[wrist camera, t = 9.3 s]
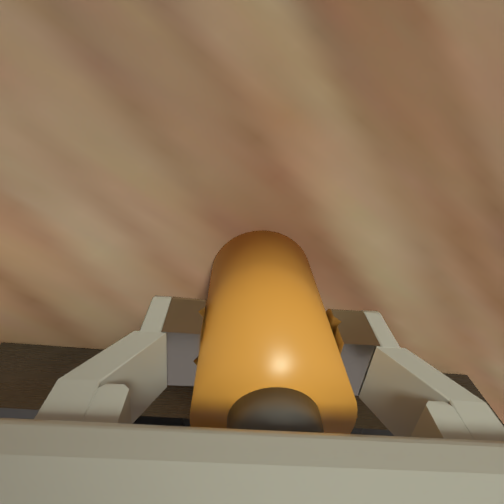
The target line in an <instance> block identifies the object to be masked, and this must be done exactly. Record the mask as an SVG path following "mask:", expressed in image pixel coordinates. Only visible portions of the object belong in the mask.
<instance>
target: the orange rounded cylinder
mask: <svg viewBox="0 0 504 504" xmlns="http://www.w3.org/2000/svg"><path fill="white" fill-rule="evenodd" d="M357 411H358V409H357V402H356V399H355V396H354V393H353V390H352V387H351V384H350V381H349V378H348V375H347V373H346V370H345V367H344V364H343V361H342V358H341V355H340V352H339V349H338V346H337V344H336V341H335V338H334V335H333V332H332V329H331V326H330V323H329V320H328V318H327V315H326V312H325V309H324V306H323V303H322V300H321V297H320V294H319V291H318V289H317V286H316V283H315V280H314V277H313V274H312V271H311V268H310V265H309V263H308V260H307V257H306V255H305V253H304V251H303V250H302V249H301V247H300V246H299V245H298V244H297V243H296V242H294V241H293V240H292V239H290V238H288V237H287V236H284V235H282V234H280V233H276V232H271V231H252V232H248V233H244V234H241V235H239V236H237V237H235V238H233V239H232V240H230V241H229V242H228V243H226V244H225V245H224V246H223V247H222V248H221V250H220V251H219V252H218V254H217V255H216V258H215V260H214V263H213V266H212V272H211V279H210V285H209V292H208V298H207V305H206V314H205V321H204V325H203V334H202V341H201V347H200V352H199V356H198V363H197V369H196V376H195V382H194V389H193V395H192V401H191V408H190V415H189V418H190V426H191V427H209V428H231V429H252V430H274V431H296V432H318V433H340V434H350V433H351V432H352V430H353V428H354V426H355V423H356V419H357Z"/></svg>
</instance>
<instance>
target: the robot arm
mask: <svg viewBox="0 0 504 504" xmlns="http://www.w3.org/2000/svg"><path fill="white" fill-rule="evenodd" d="M206 304H207V300H203V299H192V298H181V297H170V296H156V295H155V296H154V297H153V299H152V301H151V304H150V306H149V309H148V311H147V314H146V316H145V319H144V321H143V324H142V326H141V329H140V331H133V332H131V333H130V334H128V335H127V336H125V337H124V338H122V339H120V340H119V341H117V342H116V343H114V344H113V345H111V346H109V347H108V348H106V349H105V350H103V351H102V352H100V353H98V354H97V355H95V356H94V357H92V358H91V359H89V360H87V361H86V362H84V363H83V364H81V365H80V366H78V367H76V368H75V369H73V370H72V371H70V372H69V373H67V374H65V375H64V376H62V377H61V378H59V379H58V380H57V382H56V383H55V385H54V387H53V388H52V390H51V392H50V393H49V395H48V397H47V398H46V400H45V402H44V403H43V405H42V407H41V408H40V410H39V411H38V413H37V415H36V416H35V418H34V419H15V418H0V504H504V426H503V425H502V424H501V422H500V421H499V420H498V418H497V417H496V416H495V414H494V413H493V411H492V410H491V409H490V407H489V406H488V405H487V403H486V402H484V401H483V400H481V399H480V398H478V397H477V396H475V395H474V394H472V393H471V392H469V391H468V390H466V389H465V388H463V387H462V386H460V385H459V384H457V383H456V382H455V381H453V380H452V379H450V378H449V377H447V376H446V375H444V374H443V373H441V372H440V371H438V370H437V369H435V368H434V367H432V366H431V365H429V364H428V363H426V362H425V361H423V360H422V359H420V358H419V357H418V356H416V355H415V354H413V353H412V352H410V351H409V350H407V349H406V348H400V347H399V345H398V343H397V341H396V340H395V338H394V336H393V335H392V333H391V331H390V329H389V328H388V326H387V324H386V322H385V321H384V319H383V317H382V316H381V314H380V313H379V312H378V311H354V310H337V309H328V310H327V312H326V315H327V318H328V320H329V323H330V326H331V329H332V332H333V335H334V338H335V341H336V344H337V346H338V349H339V352H340V355H341V358H342V361H343V364H344V367H345V370H346V373H347V375H348V378H349V381H350V384H351V387H352V390H353V393H354V395H356V396H359V398H360V399H361V400H362V401H363V402H364V403H365V405H366V406H367V407H368V408H369V409H370V410H371V411H372V412H373V413H374V414H375V415H376V417H377V418H378V419H379V420H380V421H381V422H382V423H383V424H384V425H385V426H386V428H387V429H388V430H389V431H390V432H391V433H392V434H393V435H394V436H381V435H361V434H340V433H318V432H296V431H274V430H252V429H231V428H209V427H187V426H166V425H144V424H133V423H134V422H135V420H136V419H137V418H138V417H139V416H140V415H141V414H142V413H143V412H144V411H145V410H146V409H147V408H148V407H149V406H150V404H151V403H152V402H153V401H154V400H155V399H156V398H157V397H158V396H159V395H160V394H161V393H162V392H163V391H164V390H165V388H166V387H167V385H177V386H194V382H195V376H196V369H197V363H198V356H199V352H200V347H201V341H202V334H203V325H204V321H205V314H206Z"/></svg>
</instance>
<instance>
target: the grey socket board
mask: <svg viewBox="0 0 504 504" xmlns="http://www.w3.org/2000/svg"><path fill="white" fill-rule="evenodd" d="M102 351H103V350H99V349H85V348H70V347H56V346H42V345H27V344H13V343H1V344H0V418H15V419H34V418H35V416H36V415H37V413H38V411H39V410H40V408H41V407H42V405H43V403H44V402H45V400H46V398H47V397H48V395H49V393H50V392H51V390H52V388H53V387H54V385H55V383H56V382H57V380H58V379H59V378H61V377H62V376H64V375H65V374H67V373H69V372H70V371H72V370H73V369H75V368H76V367H78V366H80V365H81V364H83V363H84V362H86V361H87V360H89V359H91V358H92V357H94V356H95V355H97V354H98V353H100V352H102ZM444 375H446V376H447V377H449V378H450V379H452V380H453V381H455V382H456V383H457V384H459V385H460V386H462V387H463V388H465V389H466V390H468V391H469V392H471V393H472V394H474V395H475V396H477V397H478V398H480V399H481V400H483V401H484V402H486V403H487V401H486V400H485V399H484V397H483V396H482V395H481V393H480V392H479V391H478V389H477V388H476V387H475V385H474V384H473V383H472V381H471V380H470V379H469V377H468V376H467V375H457V374H444ZM193 389H194V386H177V385H167V387H166V388H165V390H164V391H163V392H162V393H161V394H160V395H159V396H158V397H157V398H156V399H155V400H154V401H153V402H152V403H151V404H150V406H149V407H148V408H147V409H146V410H145V411H144V412H143V413H142V414H141V415H140V416H139V417H138V418H137V419H136V420H135V422H134V423H133V424H144V425H166V426H187V427H191V426H190V418H189V415H190V408H191V401H192V395H193ZM354 396H355V399H356V402H357V409H358V411H357V419H356V423H355V426H354V428H353V430H352V432H351V433H350V434H361V435H381V436H394V435H393V434H392V433H391V432H390V431H389V430H388V429H387V428H386V426H385V425H384V424H383V423H382V422H381V421H380V420H379V419H378V418H377V417H376V415H375V414H374V413H373V412H372V411H371V410H370V409H369V408H368V407H367V406H366V405H365V403H364V402H363V401H362V400H361V399H360V398H359V396H356V395H354ZM487 405H488V406H489V407H490V405H489V404H488V403H487ZM490 409H491V410H492V408H491V407H490ZM492 411H493V410H492ZM493 413H494V414H495V412H494V411H493ZM495 416H496V417H497V418H498V416H497V415H496V414H495ZM498 420H499V421H500V422H501V420H500V419H499V418H498ZM501 424H502V425H503V426H504V424H503V423H502V422H501Z"/></svg>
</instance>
